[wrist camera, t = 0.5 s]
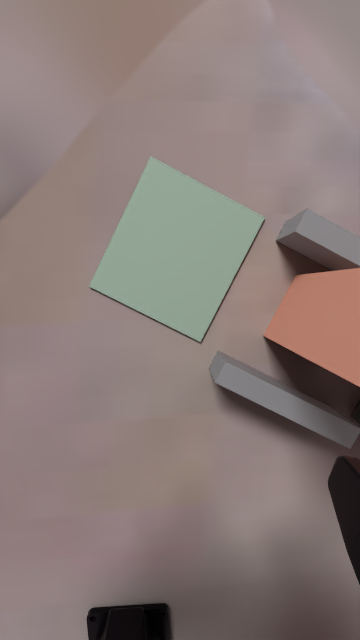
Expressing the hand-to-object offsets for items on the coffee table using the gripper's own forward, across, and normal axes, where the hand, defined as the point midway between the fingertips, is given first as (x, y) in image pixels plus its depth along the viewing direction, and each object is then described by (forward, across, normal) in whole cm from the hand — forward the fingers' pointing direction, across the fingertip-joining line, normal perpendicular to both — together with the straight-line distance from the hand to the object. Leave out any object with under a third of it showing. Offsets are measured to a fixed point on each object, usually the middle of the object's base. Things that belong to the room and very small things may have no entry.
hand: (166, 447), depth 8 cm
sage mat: (+16, 0, -3) cm, 16 cm away
